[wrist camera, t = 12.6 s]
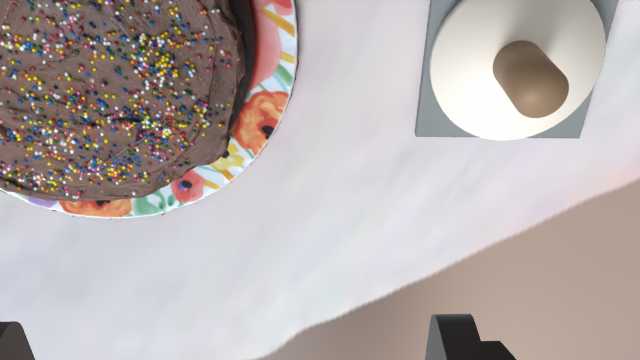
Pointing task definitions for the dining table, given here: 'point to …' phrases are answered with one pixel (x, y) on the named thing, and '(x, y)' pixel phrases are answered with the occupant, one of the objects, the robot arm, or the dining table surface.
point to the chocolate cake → (138, 99)
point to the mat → (439, 125)
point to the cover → (515, 64)
